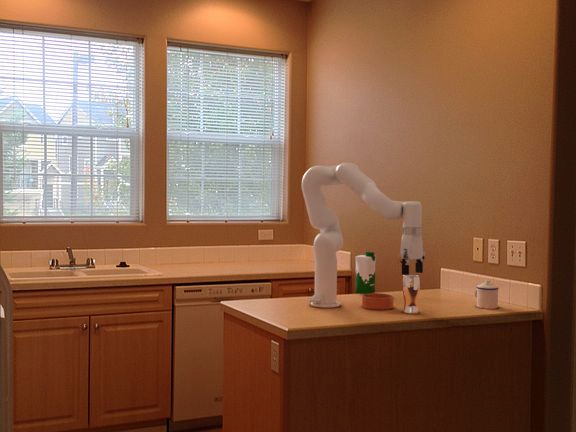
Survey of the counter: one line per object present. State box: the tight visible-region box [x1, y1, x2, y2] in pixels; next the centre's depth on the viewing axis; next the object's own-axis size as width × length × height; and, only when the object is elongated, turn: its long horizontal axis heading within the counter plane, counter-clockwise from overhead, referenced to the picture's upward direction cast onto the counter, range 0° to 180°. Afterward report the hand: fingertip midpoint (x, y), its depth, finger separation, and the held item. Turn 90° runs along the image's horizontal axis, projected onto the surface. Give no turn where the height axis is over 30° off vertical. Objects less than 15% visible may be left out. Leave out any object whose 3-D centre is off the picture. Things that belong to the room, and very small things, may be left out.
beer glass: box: [402, 274, 421, 315], centre depth 268 cm, size 7×7×15 cm
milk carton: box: [354, 251, 377, 295], centre depth 318 cm, size 9×9×20 cm
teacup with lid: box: [474, 279, 499, 310], centre depth 283 cm, size 12×9×12 cm
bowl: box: [361, 292, 395, 311], centre depth 279 cm, size 13×13×5 cm
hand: (412, 273), depth 268 cm, fingers open, 9 cm apart
